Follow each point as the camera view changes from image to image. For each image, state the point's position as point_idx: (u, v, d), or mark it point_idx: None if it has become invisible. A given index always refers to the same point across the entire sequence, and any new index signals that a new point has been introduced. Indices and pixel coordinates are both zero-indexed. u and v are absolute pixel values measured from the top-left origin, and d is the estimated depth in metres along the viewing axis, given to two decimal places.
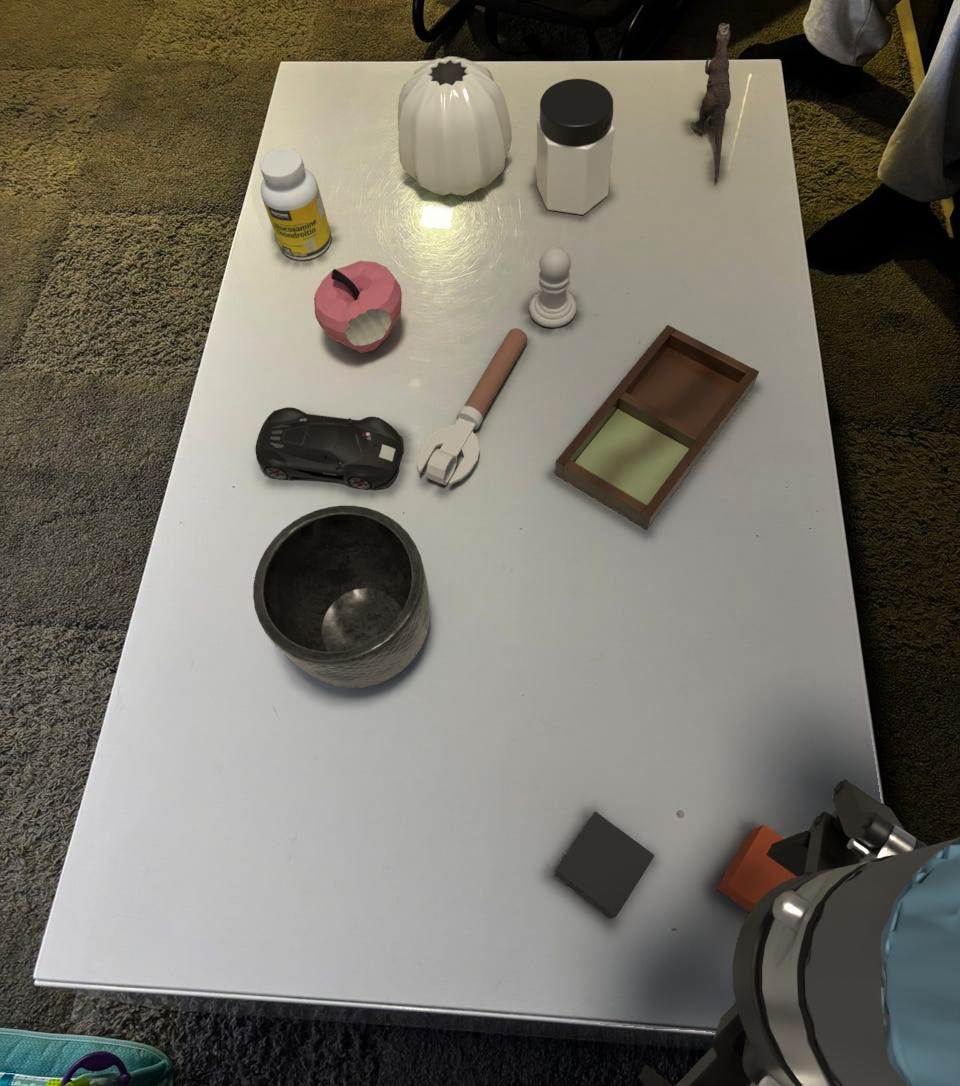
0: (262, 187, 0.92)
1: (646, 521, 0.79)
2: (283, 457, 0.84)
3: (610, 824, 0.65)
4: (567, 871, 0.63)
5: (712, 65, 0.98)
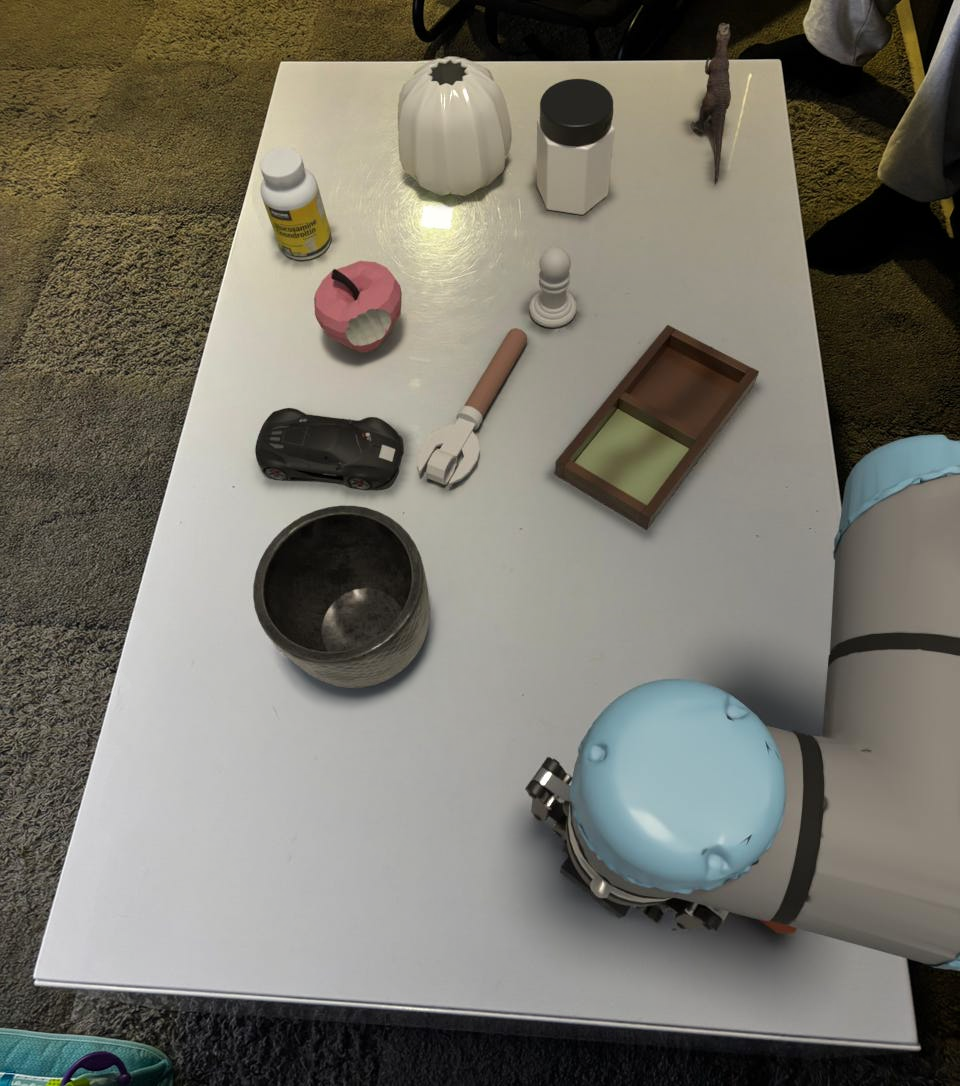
0: (262, 187, 0.92)
1: (646, 521, 0.79)
2: (283, 458, 0.84)
3: None
4: (573, 868, 0.60)
5: (712, 65, 0.98)
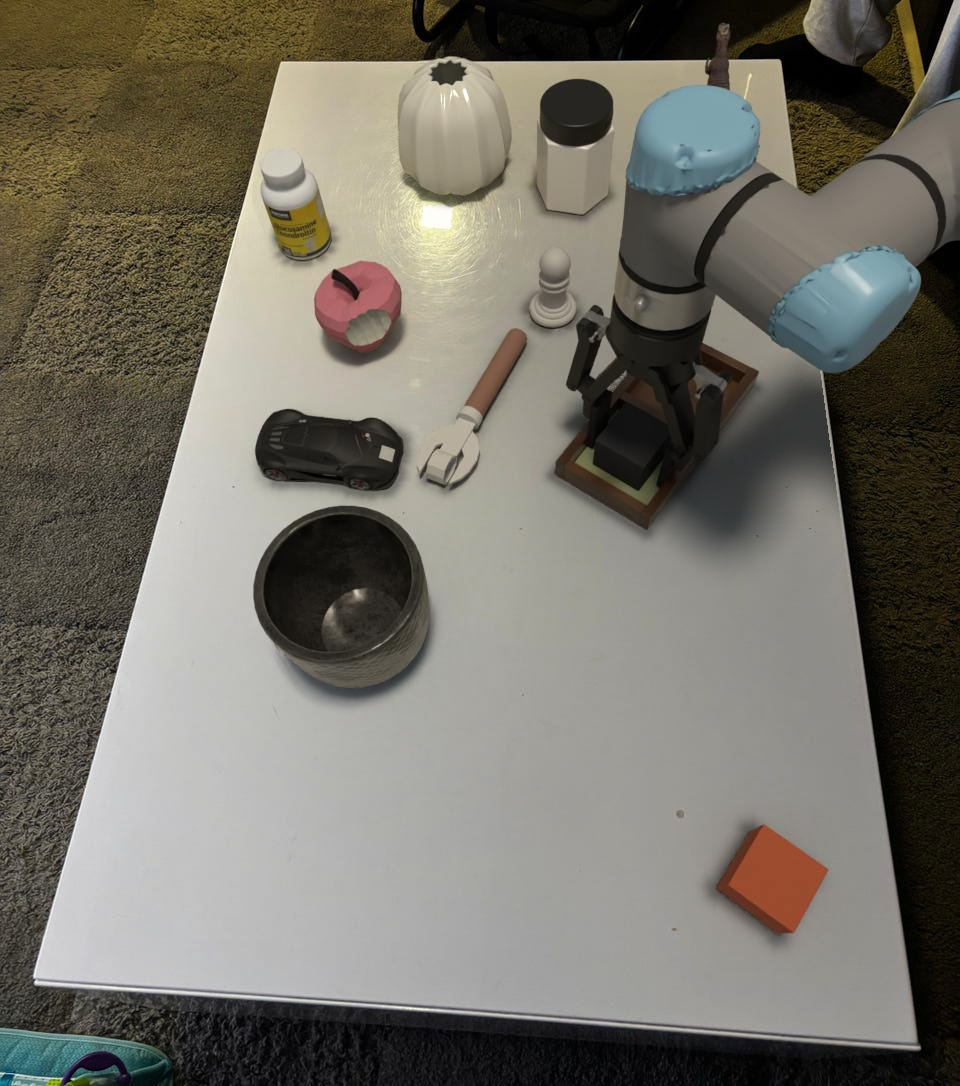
0: (262, 187, 0.92)
1: (646, 521, 0.79)
2: (283, 458, 0.84)
3: (638, 409, 0.80)
4: (605, 440, 0.79)
5: (712, 65, 0.98)
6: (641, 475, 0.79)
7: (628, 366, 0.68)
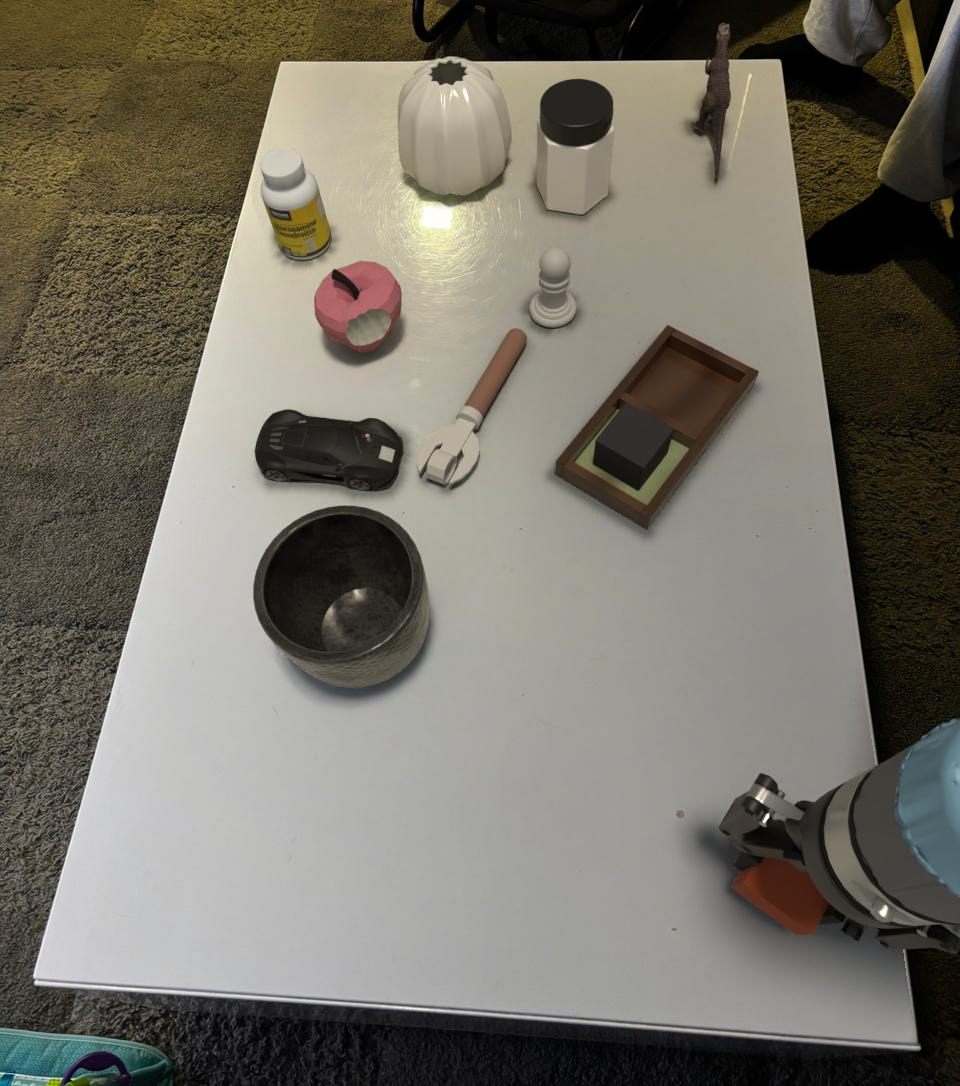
0: (262, 187, 0.92)
1: (646, 521, 0.79)
2: (283, 459, 0.84)
3: (638, 409, 0.80)
4: (605, 440, 0.79)
5: (712, 65, 0.98)
6: (641, 475, 0.79)
7: None
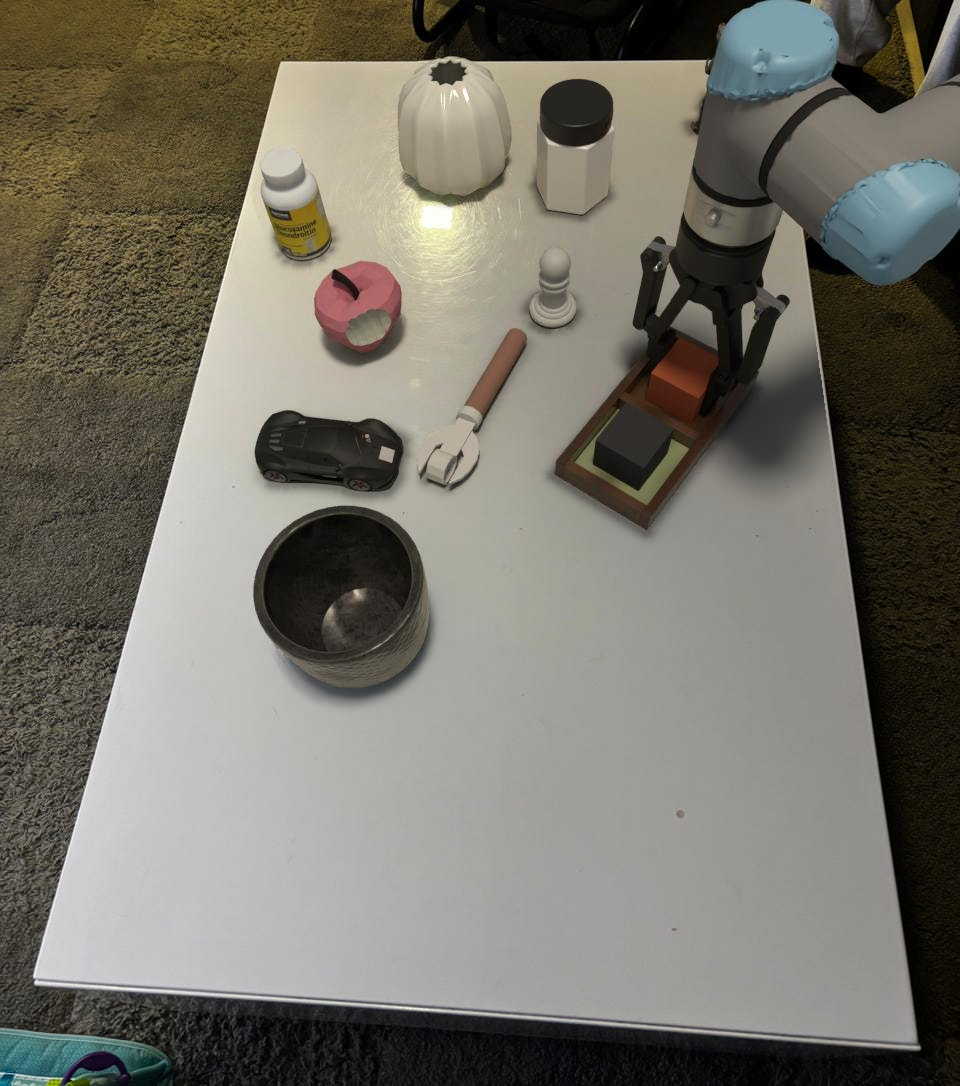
0: (262, 187, 0.92)
1: (646, 521, 0.79)
2: (282, 460, 0.84)
3: (638, 409, 0.80)
4: (605, 440, 0.79)
5: None
6: (641, 475, 0.79)
7: (691, 290, 0.71)
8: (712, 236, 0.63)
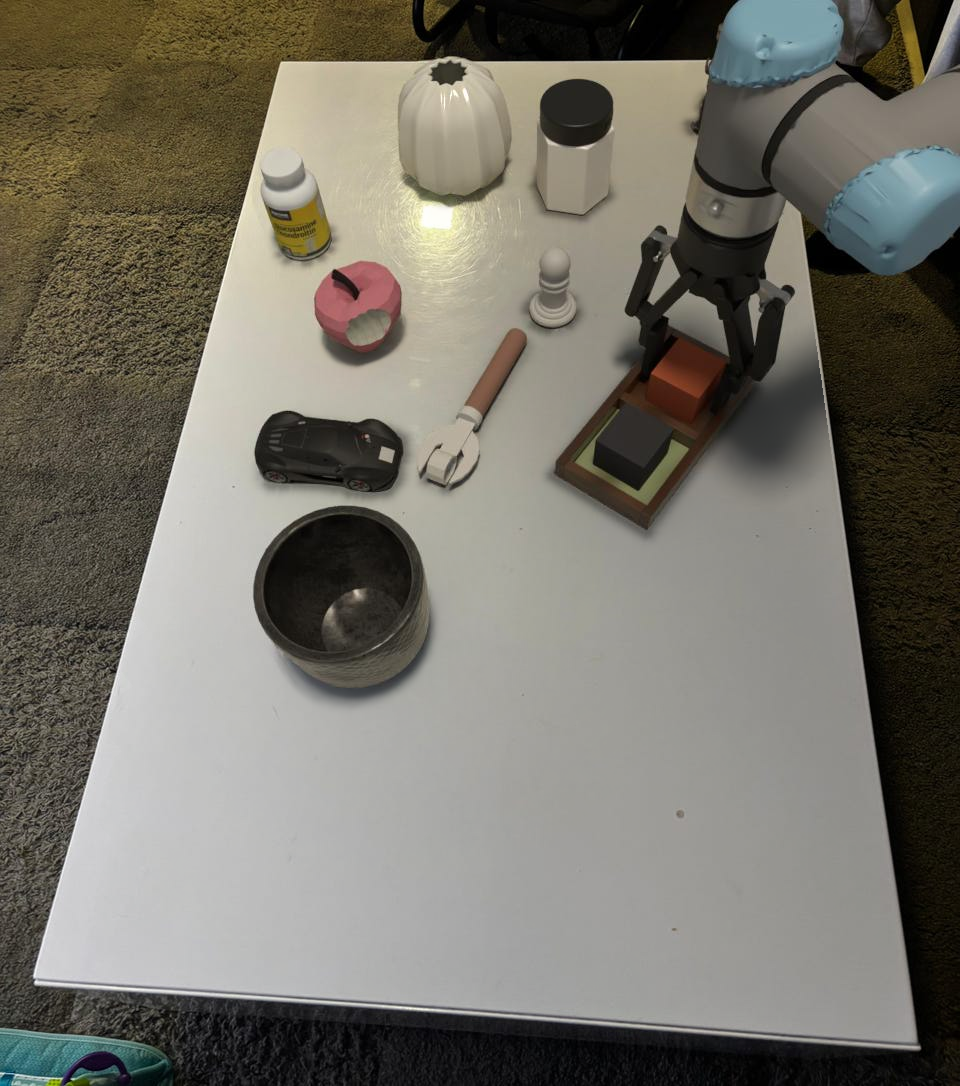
0: (262, 187, 0.92)
1: (646, 521, 0.79)
2: (282, 460, 0.84)
3: (638, 409, 0.80)
4: (605, 440, 0.79)
5: None
6: (641, 475, 0.79)
7: (693, 283, 0.71)
8: (714, 227, 0.62)
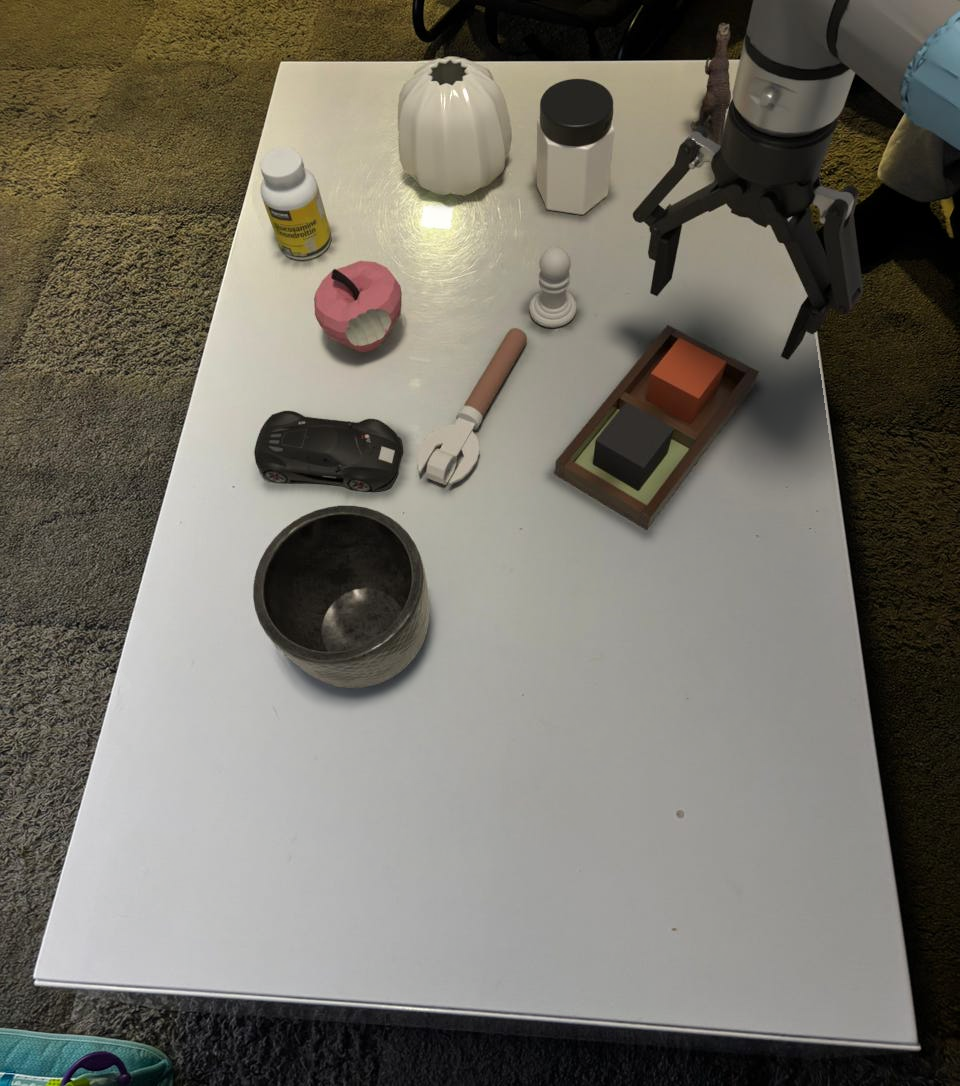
0: (262, 187, 0.92)
1: (646, 521, 0.79)
2: (282, 460, 0.84)
3: (638, 409, 0.80)
4: (605, 440, 0.79)
5: (712, 65, 0.98)
6: (641, 475, 0.79)
7: (734, 198, 0.63)
8: (767, 121, 0.55)
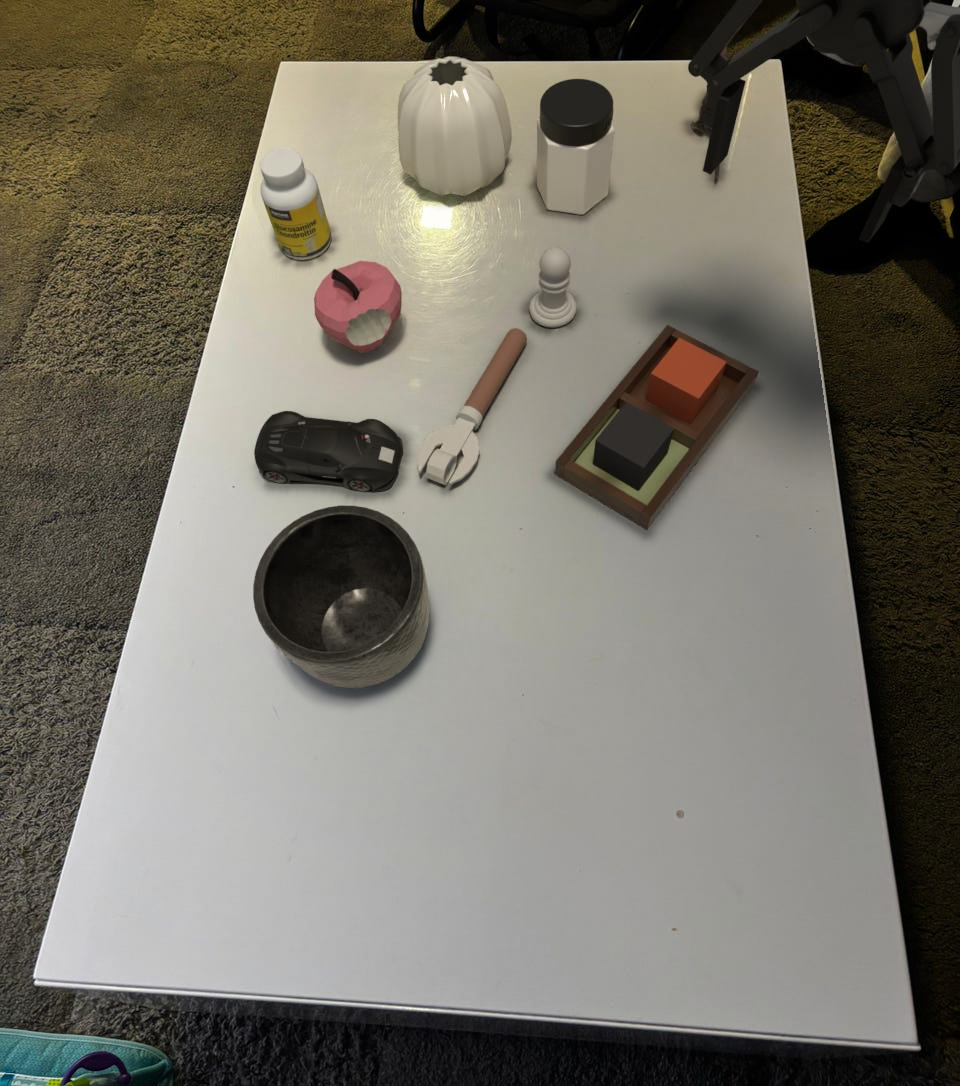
0: (262, 187, 0.92)
1: (646, 521, 0.79)
2: (282, 461, 0.84)
3: (638, 409, 0.80)
4: (605, 440, 0.79)
5: None
6: (641, 475, 0.79)
7: (821, 24, 0.52)
8: None
